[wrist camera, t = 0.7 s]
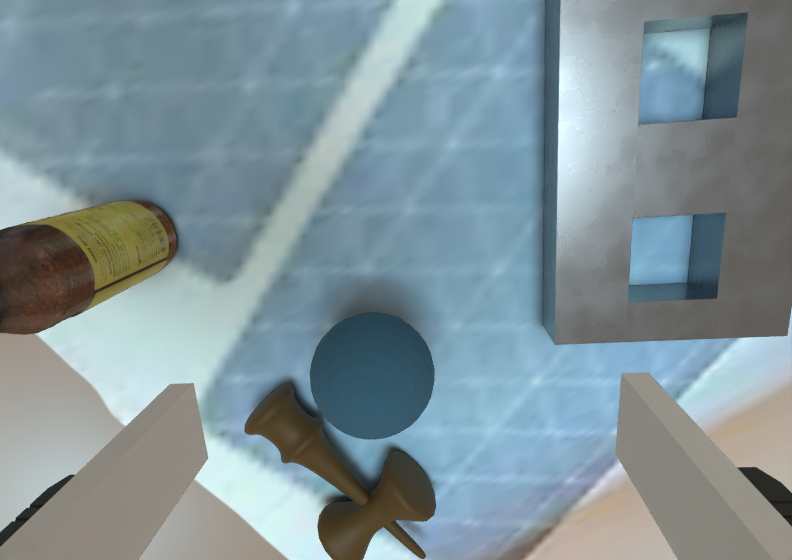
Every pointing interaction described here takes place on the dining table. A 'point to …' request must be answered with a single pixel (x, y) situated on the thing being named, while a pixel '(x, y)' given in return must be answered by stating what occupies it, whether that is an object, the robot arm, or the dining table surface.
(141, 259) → the sauce bottle
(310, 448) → the kendama
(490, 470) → the dining table surface
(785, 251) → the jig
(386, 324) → the light bulb
